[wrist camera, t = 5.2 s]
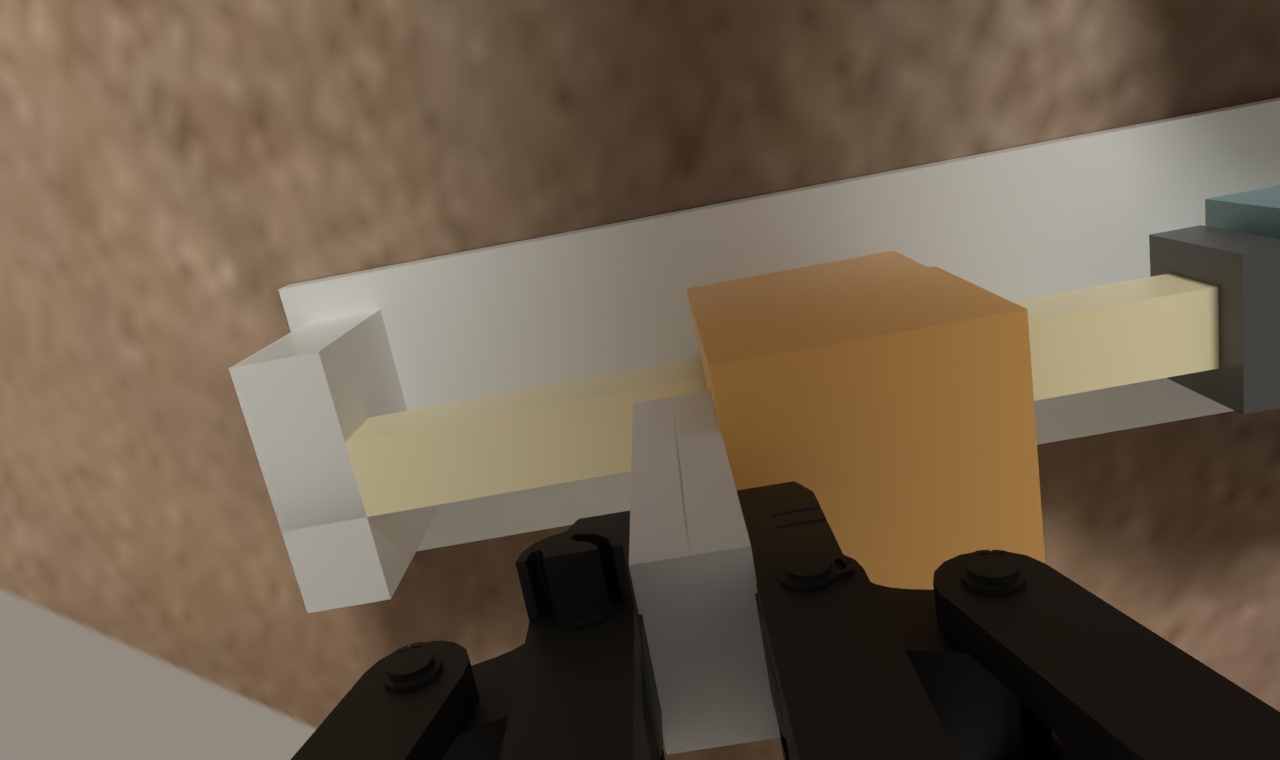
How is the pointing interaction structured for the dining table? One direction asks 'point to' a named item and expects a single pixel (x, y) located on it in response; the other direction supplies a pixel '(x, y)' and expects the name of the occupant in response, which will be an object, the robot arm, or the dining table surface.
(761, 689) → the robot arm
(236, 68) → the dining table surface
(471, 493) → the linear slide rail
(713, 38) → the dining table surface
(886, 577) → the orange slider block
